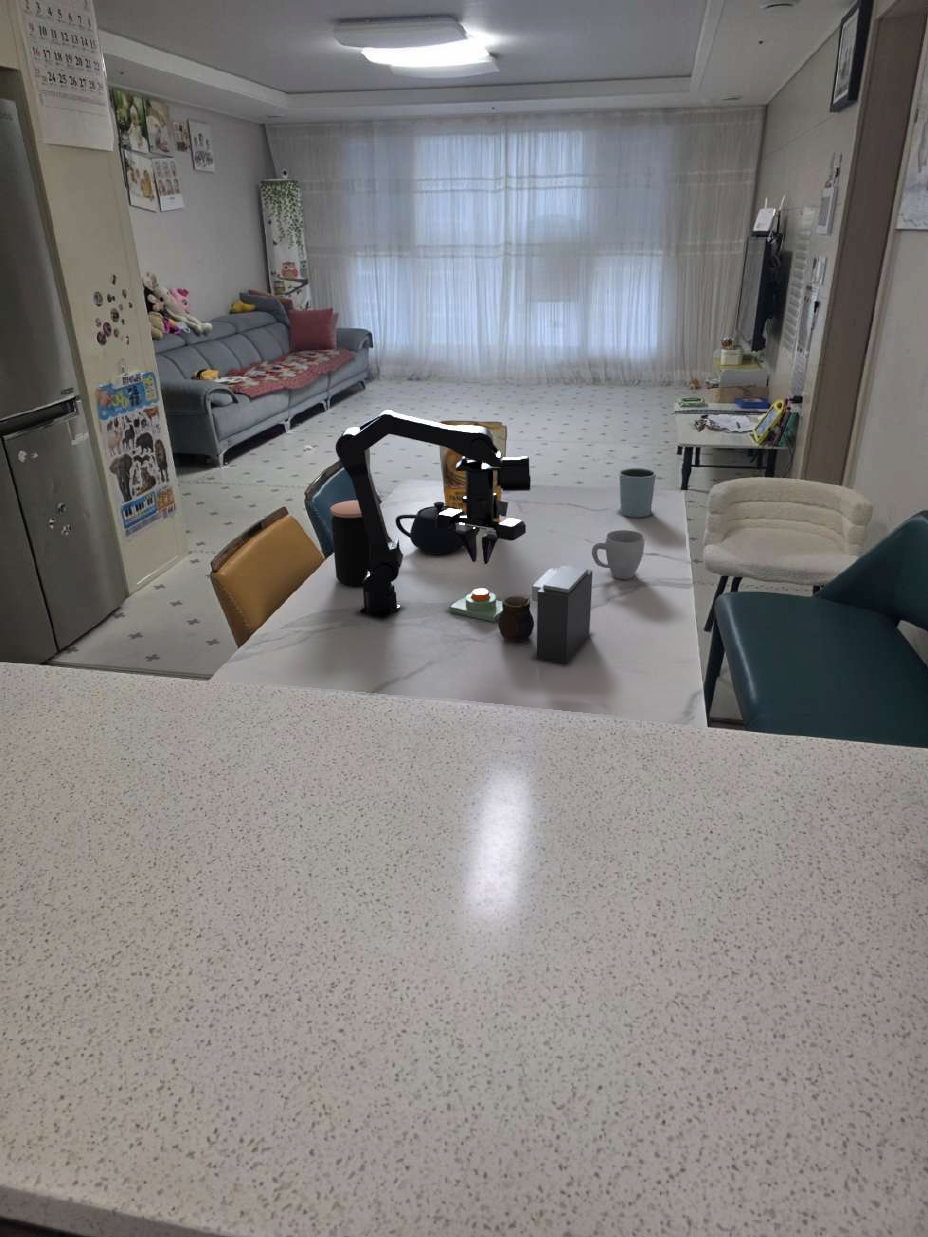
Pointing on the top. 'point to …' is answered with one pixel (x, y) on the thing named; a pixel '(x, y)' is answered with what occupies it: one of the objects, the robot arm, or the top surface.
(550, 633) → the lidded grey bin
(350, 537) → the coffee jar
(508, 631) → the mate gourd
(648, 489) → the blue cup
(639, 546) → the mug
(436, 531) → the teapot
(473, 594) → the eject button
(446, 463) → the pancake mix bag
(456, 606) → the pad
